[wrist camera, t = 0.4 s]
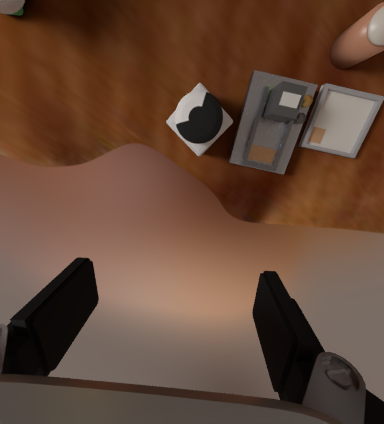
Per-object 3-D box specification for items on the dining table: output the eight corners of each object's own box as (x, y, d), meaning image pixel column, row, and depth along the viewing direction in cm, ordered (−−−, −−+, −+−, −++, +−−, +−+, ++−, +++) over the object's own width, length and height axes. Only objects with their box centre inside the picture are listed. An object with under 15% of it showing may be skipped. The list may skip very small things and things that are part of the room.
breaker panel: (250, 75, 32) (256, 67, 28) (309, 89, 32) (322, 82, 28) (227, 161, 36) (230, 163, 33) (278, 172, 37) (286, 175, 33)
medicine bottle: (228, 125, 34) (240, 117, 23) (199, 154, 36) (198, 160, 25) (200, 93, 33) (199, 68, 22) (172, 125, 35) (157, 118, 24)
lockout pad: (321, 85, 31) (326, 83, 30) (377, 98, 32) (384, 97, 30) (298, 146, 35) (301, 146, 34) (348, 157, 35) (354, 158, 34)
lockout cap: (339, 26, 29) (380, -9, 22) (371, 33, 29) (421, 1, 22) (324, 65, 31) (358, 44, 24) (354, 72, 31) (396, 53, 24)
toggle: (271, 89, 30) (283, 80, 25) (293, 94, 30) (309, 86, 25) (262, 117, 31) (272, 113, 27) (283, 122, 31) (297, 118, 27)
